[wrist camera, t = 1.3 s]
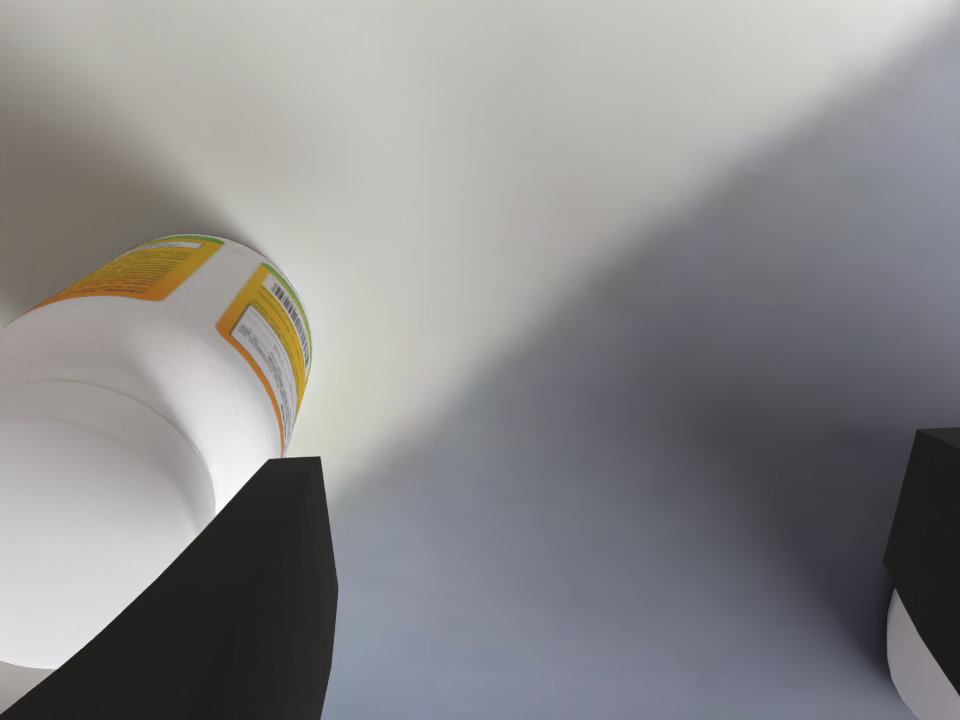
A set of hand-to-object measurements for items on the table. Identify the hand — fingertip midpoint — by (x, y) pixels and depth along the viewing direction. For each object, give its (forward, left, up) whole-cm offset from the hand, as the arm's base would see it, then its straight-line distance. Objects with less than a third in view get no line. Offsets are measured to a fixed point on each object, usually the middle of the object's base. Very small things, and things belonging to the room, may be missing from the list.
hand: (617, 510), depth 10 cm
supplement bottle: (-1, +7, -11) cm, 14 cm away
